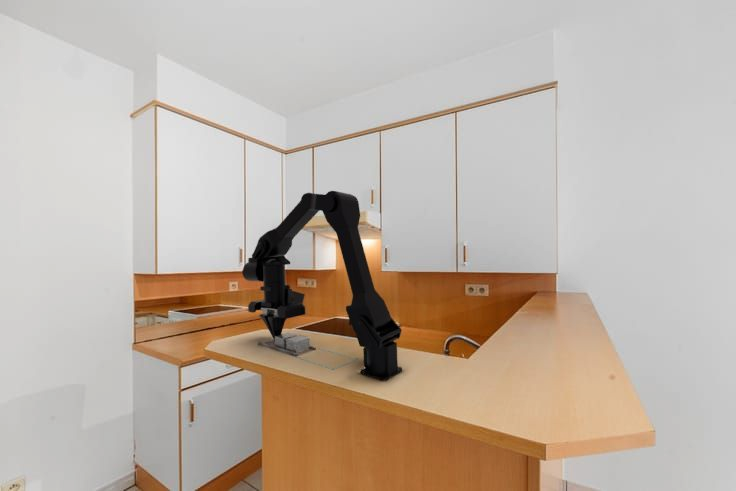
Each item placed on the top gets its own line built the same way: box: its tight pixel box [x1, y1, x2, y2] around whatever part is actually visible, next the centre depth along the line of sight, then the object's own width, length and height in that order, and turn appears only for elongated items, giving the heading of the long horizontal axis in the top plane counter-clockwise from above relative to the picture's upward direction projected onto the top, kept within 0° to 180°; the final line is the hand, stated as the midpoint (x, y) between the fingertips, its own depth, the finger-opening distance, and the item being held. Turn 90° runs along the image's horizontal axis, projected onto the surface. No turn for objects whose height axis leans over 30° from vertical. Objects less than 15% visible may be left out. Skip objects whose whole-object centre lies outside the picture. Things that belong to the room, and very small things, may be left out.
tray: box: [295, 347, 359, 370], centre depth 71 cm, size 13×8×1 cm, turn 50°
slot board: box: [257, 339, 317, 358], centre depth 80 cm, size 17×6×2 cm, turn 50°
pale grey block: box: [275, 332, 298, 350], centre depth 80 cm, size 4×4×3 cm
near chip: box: [286, 335, 310, 354], centre depth 76 cm, size 4×4×3 cm
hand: (277, 340), depth 82 cm, fingers closed
